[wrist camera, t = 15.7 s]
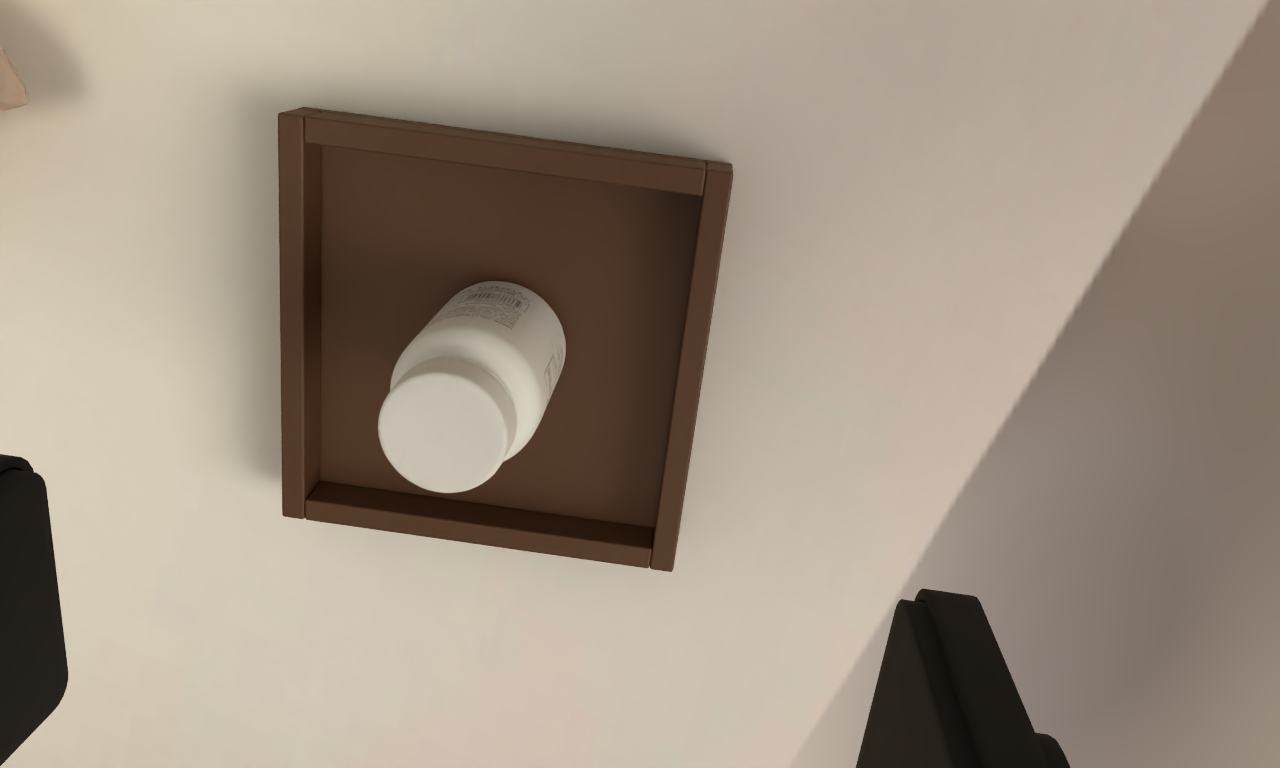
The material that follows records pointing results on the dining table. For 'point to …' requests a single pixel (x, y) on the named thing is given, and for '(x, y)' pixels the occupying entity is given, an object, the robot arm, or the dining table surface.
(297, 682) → the dining table surface
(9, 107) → the decorative flower
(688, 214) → the tray
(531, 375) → the pill bottle
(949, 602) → the robot arm
